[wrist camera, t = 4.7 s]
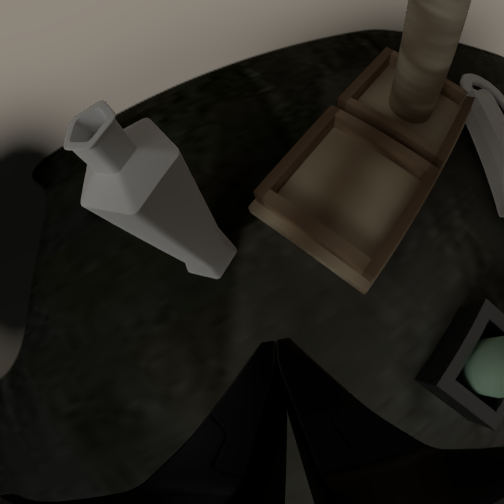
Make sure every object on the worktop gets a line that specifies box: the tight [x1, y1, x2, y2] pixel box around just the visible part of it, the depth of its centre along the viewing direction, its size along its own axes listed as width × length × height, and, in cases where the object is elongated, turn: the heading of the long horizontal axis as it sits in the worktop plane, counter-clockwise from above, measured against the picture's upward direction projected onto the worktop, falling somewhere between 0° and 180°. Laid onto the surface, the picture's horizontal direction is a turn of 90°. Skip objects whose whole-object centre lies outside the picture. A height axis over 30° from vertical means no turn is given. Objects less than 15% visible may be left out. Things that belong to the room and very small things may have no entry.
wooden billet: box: [389, 0, 471, 124], centre depth 17 cm, size 4×4×13 cm
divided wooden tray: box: [248, 47, 475, 295], centre depth 22 cm, size 10×21×2 cm, turn 140°
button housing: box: [415, 299, 504, 431], centre depth 16 cm, size 6×6×4 cm
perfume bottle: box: [63, 101, 237, 279], centre depth 16 cm, size 5×4×15 cm
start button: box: [455, 336, 504, 398], centre depth 15 cm, size 4×4×4 cm
